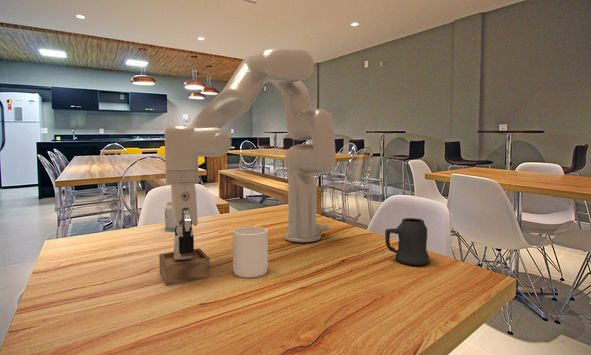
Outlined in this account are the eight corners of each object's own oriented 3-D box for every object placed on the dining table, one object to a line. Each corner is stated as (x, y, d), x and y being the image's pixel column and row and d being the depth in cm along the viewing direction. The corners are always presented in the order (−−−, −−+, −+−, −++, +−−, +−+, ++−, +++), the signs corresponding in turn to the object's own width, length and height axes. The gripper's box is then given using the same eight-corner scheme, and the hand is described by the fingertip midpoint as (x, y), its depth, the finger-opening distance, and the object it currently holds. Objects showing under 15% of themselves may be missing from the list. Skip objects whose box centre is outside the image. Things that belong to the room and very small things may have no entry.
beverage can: (181, 237, 120) (180, 204, 119) (162, 237, 120) (161, 204, 119) (188, 232, 127) (187, 201, 126) (170, 232, 127) (169, 201, 126)
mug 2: (422, 254, 98) (423, 216, 97) (434, 264, 89) (436, 223, 88) (381, 254, 98) (382, 216, 97) (389, 264, 89) (390, 223, 88)
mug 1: (273, 263, 91) (273, 224, 90) (263, 279, 79) (263, 234, 78) (242, 262, 92) (242, 223, 91) (228, 277, 80) (227, 233, 79)
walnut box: (200, 267, 89) (199, 248, 88) (210, 279, 80) (209, 258, 80) (159, 274, 84) (159, 253, 83) (165, 287, 75) (165, 265, 75)
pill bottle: (185, 260, 79) (185, 227, 80) (169, 259, 80) (170, 227, 81) (196, 258, 83) (196, 226, 84) (181, 257, 84) (182, 226, 85)
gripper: (204, 179, 74) (206, 255, 75) (193, 175, 90) (194, 238, 91) (168, 181, 71) (170, 259, 72) (163, 176, 87) (165, 241, 88)
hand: (184, 247), depth 81 cm, fingers open, 9 cm apart
